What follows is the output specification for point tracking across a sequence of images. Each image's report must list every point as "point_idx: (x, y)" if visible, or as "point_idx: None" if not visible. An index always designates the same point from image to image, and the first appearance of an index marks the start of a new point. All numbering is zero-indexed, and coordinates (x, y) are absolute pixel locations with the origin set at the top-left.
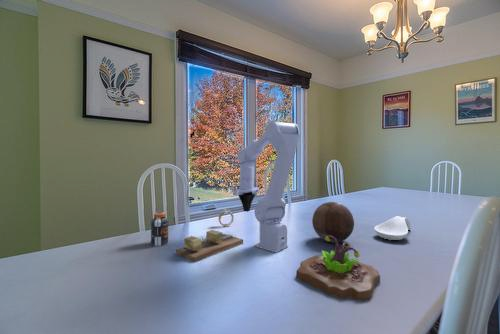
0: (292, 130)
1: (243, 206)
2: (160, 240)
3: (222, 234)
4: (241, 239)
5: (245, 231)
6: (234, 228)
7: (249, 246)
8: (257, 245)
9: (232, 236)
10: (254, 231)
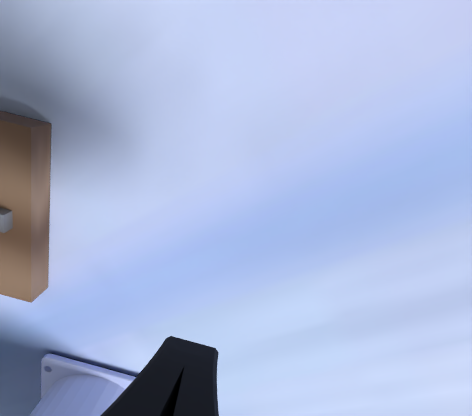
0: None
1: (130, 397)
2: None
3: (12, 123)
4: (23, 294)
5: (279, 197)
6: (325, 56)
7: (35, 330)
8: (46, 372)
9: (7, 231)
10: (311, 260)
